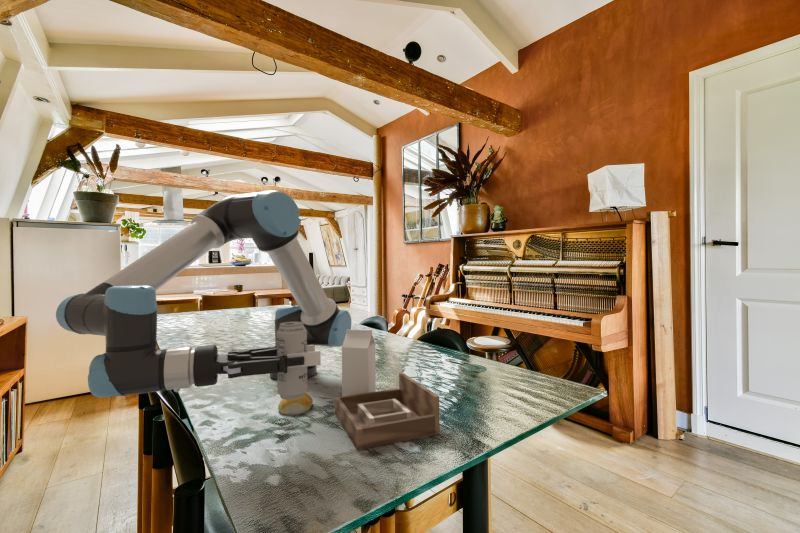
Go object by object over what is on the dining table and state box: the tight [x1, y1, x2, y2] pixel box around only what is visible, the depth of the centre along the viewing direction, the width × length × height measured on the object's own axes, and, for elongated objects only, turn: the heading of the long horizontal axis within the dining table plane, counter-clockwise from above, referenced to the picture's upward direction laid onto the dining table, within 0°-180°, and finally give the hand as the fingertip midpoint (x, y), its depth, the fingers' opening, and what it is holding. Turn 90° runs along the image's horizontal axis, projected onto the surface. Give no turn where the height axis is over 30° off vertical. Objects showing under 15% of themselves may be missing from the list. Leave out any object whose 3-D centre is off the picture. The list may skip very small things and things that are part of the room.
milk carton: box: [341, 329, 377, 396], centre depth 100 cm, size 7×7×19 cm
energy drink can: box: [276, 322, 308, 400], centre depth 78 cm, size 6×6×15 cm
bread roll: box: [277, 392, 314, 416], centre depth 96 cm, size 8×9×4 cm
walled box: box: [334, 372, 440, 451], centre depth 86 cm, size 20×18×8 cm
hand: (317, 354), depth 80 cm, fingers closed on energy drink can, 6 cm apart
